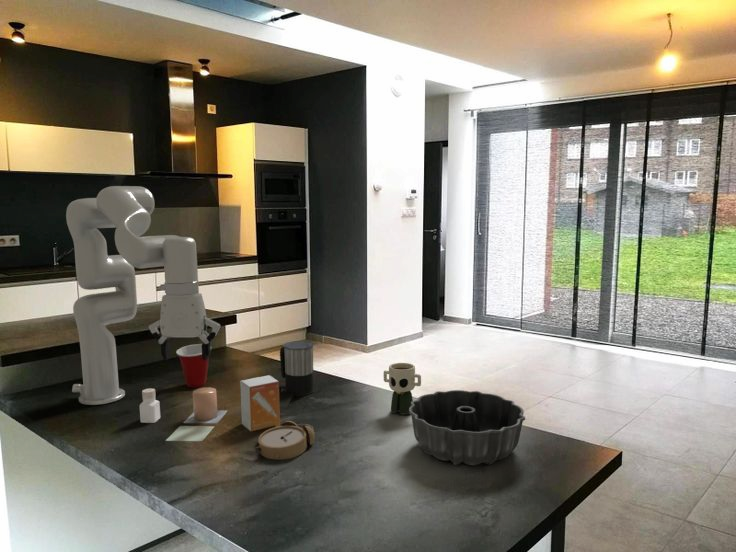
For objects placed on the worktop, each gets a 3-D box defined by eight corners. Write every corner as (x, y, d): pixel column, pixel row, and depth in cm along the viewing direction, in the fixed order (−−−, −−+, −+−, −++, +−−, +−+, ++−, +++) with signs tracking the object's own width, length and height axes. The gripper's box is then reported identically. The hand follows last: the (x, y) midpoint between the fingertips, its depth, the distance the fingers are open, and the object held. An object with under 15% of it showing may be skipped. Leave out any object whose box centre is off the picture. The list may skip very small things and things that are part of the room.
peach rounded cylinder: (190, 420, 151) (189, 394, 150) (198, 412, 157) (197, 387, 156) (213, 421, 151) (211, 395, 150) (220, 412, 157) (219, 387, 156)
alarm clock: (247, 441, 135) (290, 411, 147) (250, 459, 136) (293, 428, 148) (282, 453, 129) (324, 420, 140) (285, 472, 130) (327, 438, 141)
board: (153, 448, 139) (153, 442, 138) (188, 414, 160) (187, 408, 160) (211, 449, 138) (211, 443, 137) (238, 414, 159) (237, 409, 159)
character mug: (378, 413, 158) (378, 367, 156) (388, 405, 165) (388, 360, 163) (416, 419, 154) (416, 372, 152) (425, 410, 160) (425, 364, 158)
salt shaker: (147, 422, 155) (144, 387, 154) (161, 422, 155) (159, 387, 153) (140, 427, 151) (137, 392, 150) (154, 428, 151) (152, 393, 149)
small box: (251, 437, 144) (248, 386, 142) (241, 429, 149) (239, 380, 148) (281, 429, 148) (279, 380, 147) (270, 422, 154) (268, 374, 152)
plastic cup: (170, 388, 183) (168, 351, 181) (193, 378, 192) (191, 342, 191) (198, 392, 178) (196, 354, 177) (220, 381, 188) (218, 345, 187)
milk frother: (321, 389, 179) (320, 342, 177) (288, 405, 166) (286, 355, 164) (286, 382, 187) (284, 337, 185) (251, 396, 174) (249, 348, 172)
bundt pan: (545, 448, 136) (546, 407, 134) (481, 489, 117) (482, 442, 116) (453, 419, 154) (453, 382, 153) (386, 450, 135) (385, 409, 134)
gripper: (139, 291, 135) (145, 363, 138) (212, 291, 134) (216, 363, 137) (153, 286, 143) (158, 354, 145) (222, 286, 142) (226, 354, 144)
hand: (186, 358), depth 141 cm, fingers open, 9 cm apart
